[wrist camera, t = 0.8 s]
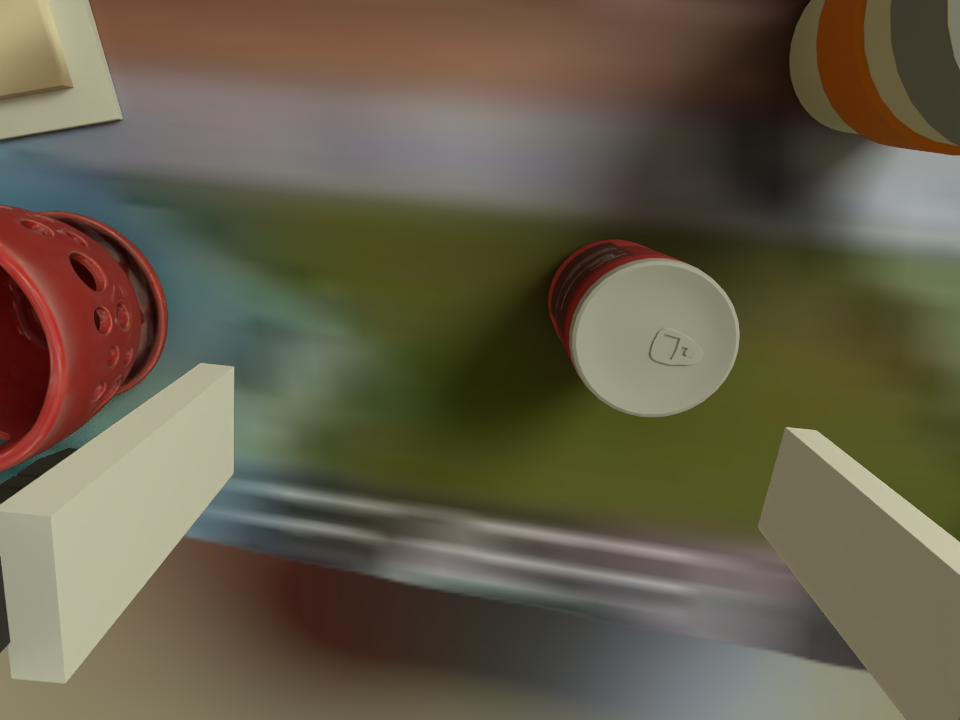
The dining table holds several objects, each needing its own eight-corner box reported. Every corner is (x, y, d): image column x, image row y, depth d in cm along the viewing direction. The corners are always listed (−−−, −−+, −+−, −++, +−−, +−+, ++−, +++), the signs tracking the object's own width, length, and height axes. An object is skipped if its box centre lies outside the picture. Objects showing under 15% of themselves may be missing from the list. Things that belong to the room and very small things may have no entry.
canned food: (665, 358, 41) (730, 421, 31) (542, 355, 41) (564, 417, 31) (679, 239, 39) (753, 261, 29) (549, 235, 39) (576, 256, 29)
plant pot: (149, 177, 38) (7, 177, 27) (209, 383, 42) (107, 462, 30) (-59, 213, 39) (-286, 228, 27) (18, 413, 42) (-154, 502, 31)
